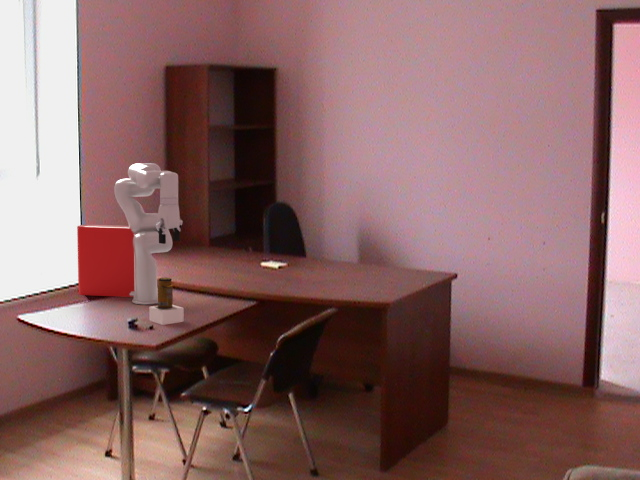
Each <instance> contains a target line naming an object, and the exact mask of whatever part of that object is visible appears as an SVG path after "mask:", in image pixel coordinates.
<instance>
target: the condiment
mask: <svg viewBox="0 0 640 480" xmlns="http://www.w3.org/2000/svg"><path fill="white" fill-rule="evenodd" d="M172 280H173V279H172V278H171V277H160V278H158V281H157V298H158V303H157V305H154V306H155V307H156V308H158V309H160V310H165V309H166V310H167V309H177V308H176V307H174V306H172V305H174V303H173V301H174V297H173V296H174V295H173V291H174V290H173V289H174V287H173V284H172V283H173V282H172Z"/></svg>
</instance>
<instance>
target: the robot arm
mask: <svg viewBox="0 0 640 480" xmlns="http://www.w3.org/2000/svg"><path fill="white" fill-rule="evenodd" d="M127 176H128V178H122V179H119V180H117V181H116V182H115V184H114V187H113V188H114V189H113V190H114V196H115V200H116V201H117V203H118V205H119V207H120V208H121V210H122V211H123V213H124V215H125V218H126V221H127V224H128V226H130V229H131V231H132V232H133V233H134V234H136V235H135V236H134V238H133V247H134V253H135V281H136V291H131V293H130V296H134V297H133V298H132V299H131V300H132V301H131V303H133V304H136V305H155V304H158V263H157V260H156V258H155V257H154V256H153V255H152V254H156V253H159V254H160V253H167V252H169V251H171V249H172V248H173V241H174V242H180V241H181V239H180V238H181V234H180V233H181V231H182V230H181V229H182V227H183V226H182V225H183V222H184V221H183V220H182V218H181V216H180V206H179V174H178V173H176V172H173V171H170V170H161V167H160V166H159V165H158V164H157V163H153V162H150V163H149V162H148V163H147V162H145V163H141V162H140V163H134V164H132V165H130V166H129V168H128V169H127ZM156 189H159V205H158V211H157V212H149V213H146V211H145V210H144V207H143V205H141V203H140V202H139V201H137V200H136V199H135V198H136V197H137V198H138V197H141V198H142V197H149V196H152V195H153V194H154V192H155V190H156ZM170 230H173V231H172V234H171V233H170Z"/></svg>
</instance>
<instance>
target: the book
mask: <svg viewBox="0 0 640 480" xmlns="http://www.w3.org/2000/svg"><path fill="white" fill-rule="evenodd" d="M76 227H77V228H76V229H77V234H76V235H77V273H78V274H77V277H78V279H77V280H78V281H77V282H78V284H77V285H78V287H77V289H78V295H79V296H96V297H98V296H99V297H125V298H127V297H128V298H134V296H130V293H131V291H136V281H135V253H134V247H133V238H134V236H135V235H136V234H134V233H133V232H132V231H131V229H130V226H129V225H113V224H112V225H110V224H107V225H106V224H105V225H104V224H79V225H77V226H76Z"/></svg>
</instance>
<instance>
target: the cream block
mask: <svg viewBox="0 0 640 480" xmlns="http://www.w3.org/2000/svg"><path fill="white" fill-rule="evenodd" d="M155 306H156V305H153V306H149V307H148V308H149V309H148V311H149V315H148V316H149V322H153V323H154V324H158V325H162V326H164V325H171V324H178V323H184V321H185V320H184V313H185V312H184V309H185V308H184V307H183V306H179V305H176V304H175V305H174V304H173V305H172V306H174V307H176V308H177V309H167V310H166V309H165V310H160V309H158V308H156V307H155Z"/></svg>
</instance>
